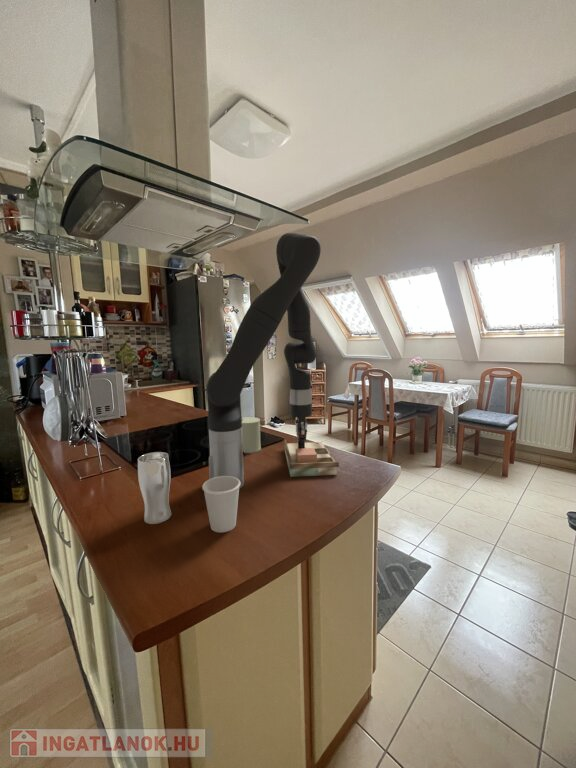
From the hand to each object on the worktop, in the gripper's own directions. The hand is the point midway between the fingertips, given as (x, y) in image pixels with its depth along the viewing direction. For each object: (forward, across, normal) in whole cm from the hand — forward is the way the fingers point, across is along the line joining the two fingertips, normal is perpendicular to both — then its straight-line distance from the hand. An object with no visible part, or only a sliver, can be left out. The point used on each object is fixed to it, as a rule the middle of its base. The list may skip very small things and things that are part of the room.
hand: (301, 450), depth 109 cm
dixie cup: (+3, -37, +22) cm, 43 cm away
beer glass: (+3, -32, +38) cm, 50 cm away
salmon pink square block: (+1, -8, -1) cm, 8 cm away
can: (+4, +13, +19) cm, 23 cm away
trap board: (+3, -1, -2) cm, 4 cm away
